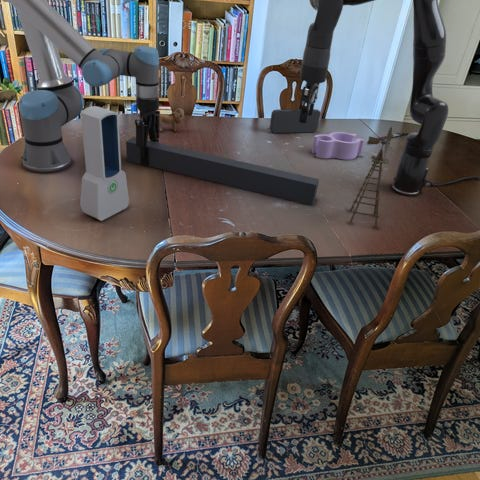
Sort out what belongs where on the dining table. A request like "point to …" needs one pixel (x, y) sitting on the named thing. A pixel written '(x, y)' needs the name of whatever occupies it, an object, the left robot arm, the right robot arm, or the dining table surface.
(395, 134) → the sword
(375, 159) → the miniature windmill
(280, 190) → the bar
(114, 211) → the electronic device
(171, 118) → the lion figurine
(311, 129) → the handheld gaming console
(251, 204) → the dining table surface
